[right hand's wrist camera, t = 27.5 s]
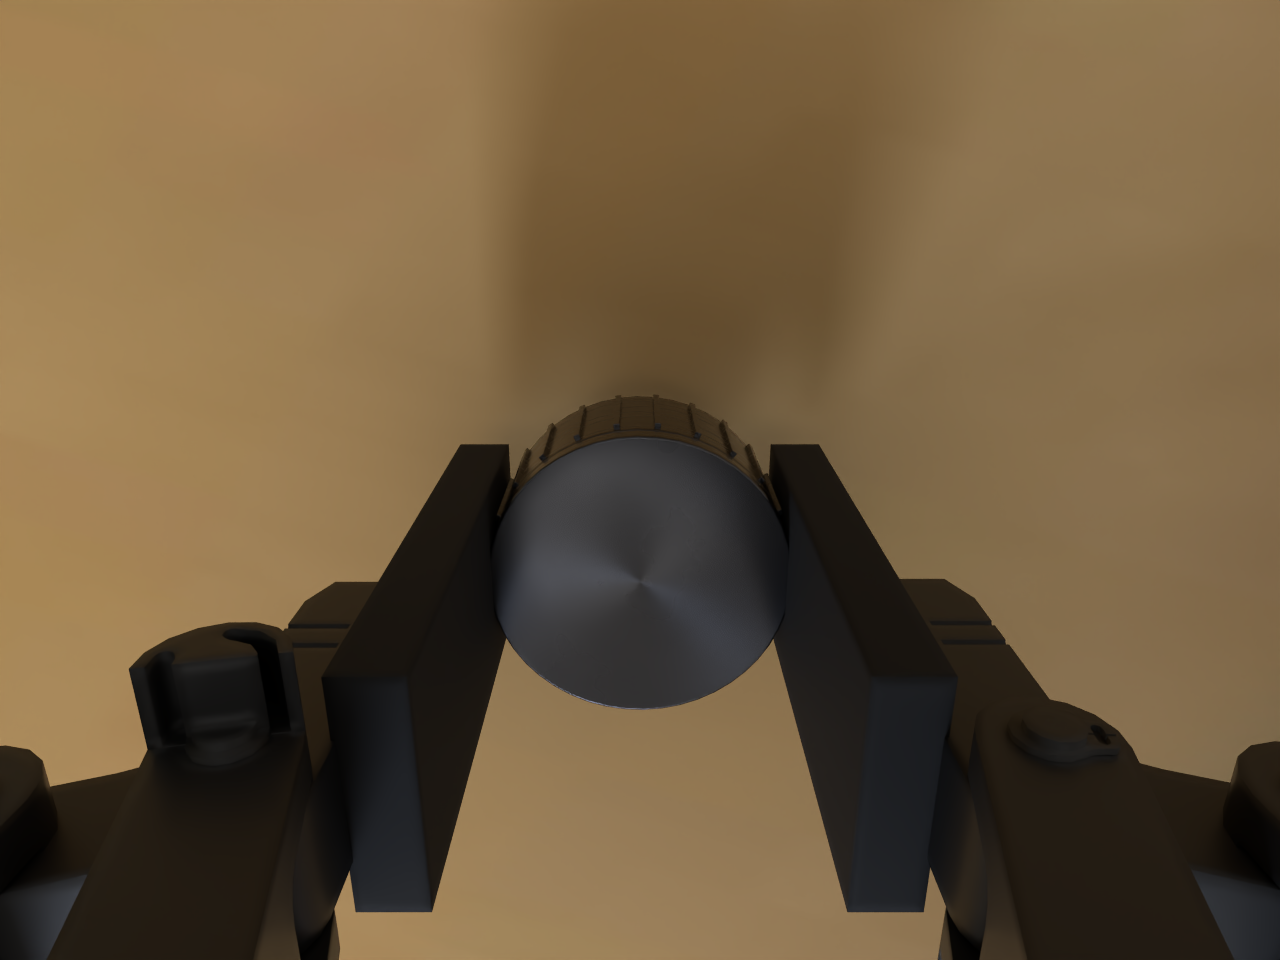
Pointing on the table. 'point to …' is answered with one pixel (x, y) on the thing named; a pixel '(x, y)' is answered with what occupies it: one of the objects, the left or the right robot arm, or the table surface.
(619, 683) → the cap
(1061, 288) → the table surface
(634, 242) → the table surface
